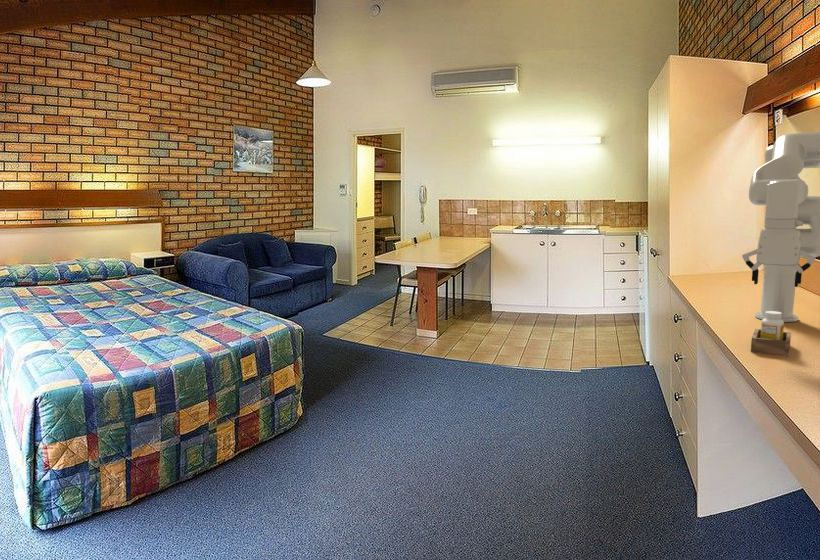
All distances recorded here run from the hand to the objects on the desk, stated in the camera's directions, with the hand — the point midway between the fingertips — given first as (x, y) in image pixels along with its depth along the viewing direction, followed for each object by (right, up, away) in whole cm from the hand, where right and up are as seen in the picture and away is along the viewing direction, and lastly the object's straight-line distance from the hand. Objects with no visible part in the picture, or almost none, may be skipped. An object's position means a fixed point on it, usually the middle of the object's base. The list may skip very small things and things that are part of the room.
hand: (775, 284), depth 159 cm
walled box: (0, -18, +2) cm, 19 cm away
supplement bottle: (0, -18, +2) cm, 18 cm away
